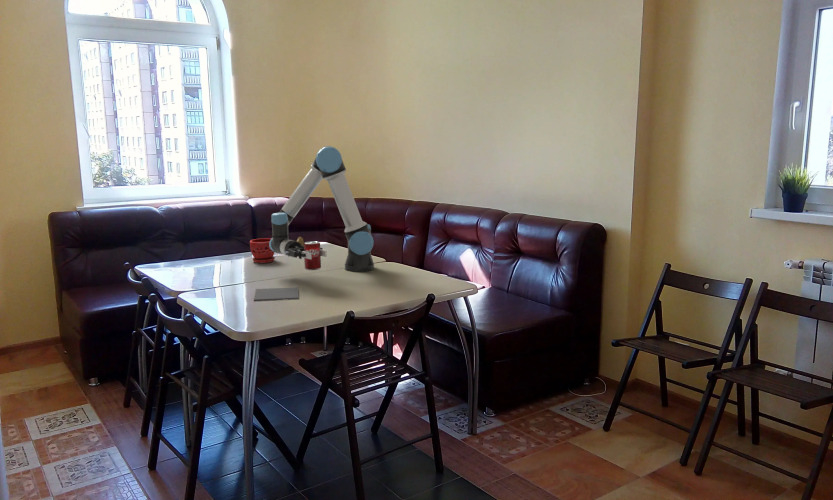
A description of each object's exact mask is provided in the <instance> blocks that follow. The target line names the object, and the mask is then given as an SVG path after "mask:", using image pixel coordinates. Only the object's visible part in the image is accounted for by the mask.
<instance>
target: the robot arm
mask: <svg viewBox="0 0 833 500" xmlns="http://www.w3.org/2000/svg"><path fill="white" fill-rule="evenodd" d="M346 171H347V169H346V166H345V164H344V161H343V157H342V155H341V152H340V151H339V150H338V148H336V147H334V146H330V145H329V146H328V145H327V146H323V147H321V148H320V149H319V150H318V152H317V153H316V156H315V158H314V160H313V162H312V163H311V165H310V169H309V171H308V172H307V173H306V175H305V176H304V178H303V179H302V180H301V182H300V183H299V184H298V185H297V187H296V188H295V189H294V191H293V192H292V194H291V195H290V196H289V198H288V199H287V200H286V202H285V204H284V205H283V206H282V207H281V209H280V211H278V212H275V213H272V214H271V220H270V221H271V228H272V229H271V231H272V234H271V235H272V236H271V240H270V242H269V247H270V249H271V250H272V251H274V253H276V254H280V255H284V256H287V257H288V258H289V257H290V258H298V260H299V259H300V260H301V259H302V258H303V259H304V258H307V259H312V258H311V253H309V252H305V251H304V246H303V245H301V244H300V243H299V242H297V240H293V239H289V225H290V224H291V223H292V221H294V220H293V219H295V217H296V216H297V214H298V213H299V212H300V210H301V209H302V208H303V206H304V205H305V204H306V202H307V201H308V200H309V199H310V197H311V195H312V194H313V193H314V192H315V190H316V189H317V188H318V186H319V185H320V183H321V182H322V181H323V180H325V181H327V183H328V185H329V188H330V191H331V193H332V195H333V198H334V200H335V203H336V206H337V208H338V211H339V214H340V216H341V219H342V220H343V223H344V226H345V228H344V231H343V232H344V234H345V237H346V239H347V240H346V241H347V256H346V259H345V261H344V270H346V271H348V272H369V271H373V270H374V269H375V262H374V259H373V256H372V253H371V251H372V249H373V247H374V243H375V242H374V238H373V236H372V228H371V227H372V226H371V224H368V223H367V222H365V221H363V219H362V217H361V214H360V211H359V209H358V206H357V204H356V201H355V198H354V196H353V193H352V191H351V188H350V185H349V182H348V181H347V177H346V175H345V173H346ZM320 253H321V257H325V258H327V256H328V253H327V250H325V249H324V248H323V247H320Z"/></svg>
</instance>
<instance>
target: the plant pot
mask: <svg viewBox="0 0 833 500" xmlns="http://www.w3.org/2000/svg"><path fill="white" fill-rule="evenodd" d="M271 239H272V237H271V238H268V237H266V238H265V237H264V238H256V239H254V238H253V239H251V240H250V241H249V248H250V252H251V256H252V257H253V258H252V261H253V262H255V263H256V264H268V263H271V262H274V260H275V259H276V257H275V256H274V255H275V252H274V251H272V250H271V249H270V247H269V242H270V240H271Z"/></svg>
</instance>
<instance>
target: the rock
mask: <svg viewBox="0 0 833 500" xmlns="http://www.w3.org/2000/svg"><path fill="white" fill-rule="evenodd" d="M296 241H297V242H299V243H300V244H301V245H303V246H304V243H305V242H304V238H303V237H301V236H298V237H297V240H296Z"/></svg>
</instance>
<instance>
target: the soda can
mask: <svg viewBox="0 0 833 500" xmlns="http://www.w3.org/2000/svg"><path fill="white" fill-rule="evenodd" d="M320 248H321V242H320V241H316V240H315V241H313V240H312V241H305V242H304V251H305V252H309V253H311V258H312V259H307V258H303V261H304V262H303V263H304V269H305V270H306V271H317V270H318V271H319V270H320V269H321V268H322V256H321V253H320Z"/></svg>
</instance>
